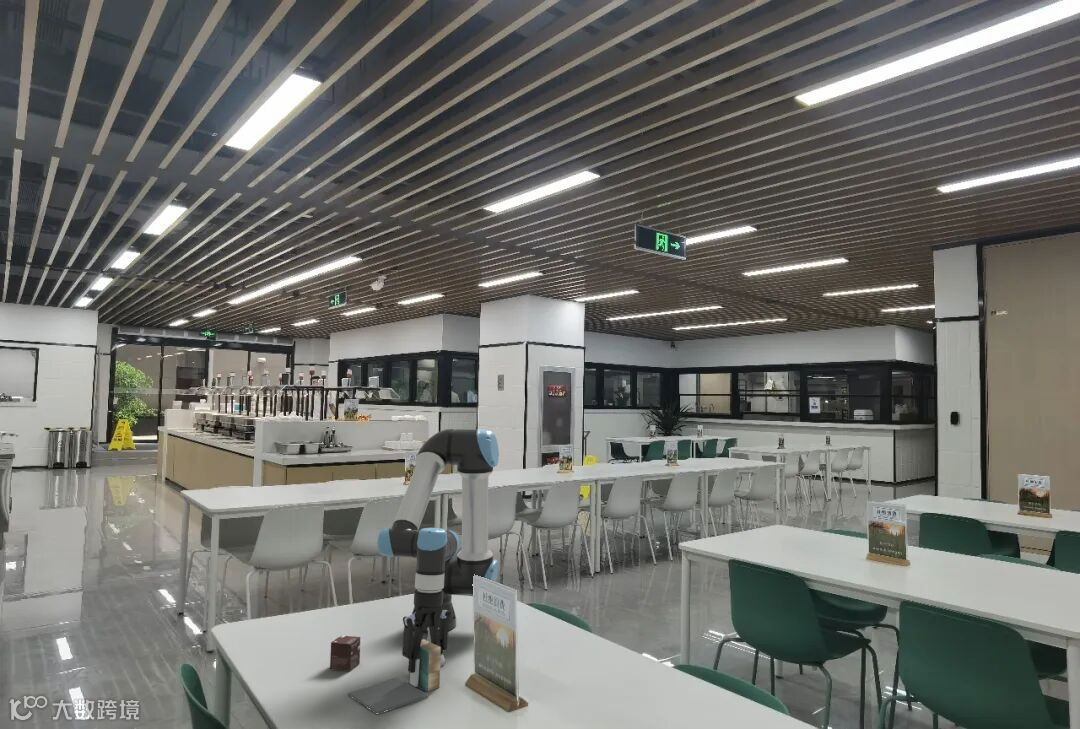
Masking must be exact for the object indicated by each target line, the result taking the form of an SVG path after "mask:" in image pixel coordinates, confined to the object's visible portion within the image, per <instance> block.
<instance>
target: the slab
mask: <svg viewBox="0 0 1080 729" xmlns="http://www.w3.org/2000/svg"><path fill="white" fill-rule="evenodd" d="M440 655H441V647H439V646H437V645H435V644H433V643H431V642H429V641H427V639H424V638H422V641H421V645H420V649H419V652H418V656H417V658H418V659H420V662H419V677H418V687H417V688H419V689H421V690H422V689H423V692H425V693H427V692H430V691H432V690H435V689H438V688H440V687H441V686H440V684H441V682H440V681H441V667H440ZM408 672H409V671H408ZM408 675H409V676H408V679H409V680H408V682H409V683H410V672H409V673H408Z"/></svg>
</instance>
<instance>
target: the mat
mask: <svg viewBox="0 0 1080 729" xmlns="http://www.w3.org/2000/svg"><path fill="white" fill-rule="evenodd" d="M347 695H348V696H349V695H350V696H351V697H350V696H349V697H350V698H352V697H353V698H354V699H353V698H352V699H353V700H355V699H356V700H357V701H356V700H355V701H356V702H358V701H359V702H360V703H359V702H358V703H359V704H361V703H362V704H363V705H362V704H361V705H362V706H364V705H365V706H366V707H365V706H364V707H365V708H367V707H368V708H370V709H371V710H372V711H371V710H370V709H369V710H370V711H371V712H373V711H374V712H375V713H374V712H373V713H374V714H376V713H380V714H382V713H381V712H383V713H385V712H384V711H386V710H389V711H391V710H390V709H392V710H394V709H393V708H395V709H397V708H396V707H398V708H400V707H399V706H401V707H403V705H404V706H406V705H409V704H412V703H416V702H418V701H421V700H425V699H427V698H428V696H429V695H428V694H427V693H426V692H425V691H421V690H420V689H418V687H417V688H416V687H415V686H413V685H411V684H410V683H407V681H405V680H403V679H400V678H398V677H395V678H392V679H388V680H385V681H382V682H377V683H375V684H371V685H368V686H365V687H361V688H358V689H355V690H351V691H348V692H347ZM368 708H367V709H368ZM386 712H387V711H386Z"/></svg>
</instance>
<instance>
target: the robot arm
mask: <svg viewBox="0 0 1080 729" xmlns="http://www.w3.org/2000/svg"><path fill="white" fill-rule="evenodd" d="M499 452H500V450H499V444H498V440H497V437H496V435H495V433H494V432H493V431H491V430H487V429H486V430H485V429H479V428H478V429H476V428H475V429H472V428H471V429H468V428H467V429H466V428H463V429H458V428H457V429H454V428H448V429H447V428H446V429H444V430H440V431H438V432H437V433H435V434H433V435H432V436H431V437H430V438H428V439H427V440H426V441H425V442H424V443H423V444H422V446H421V448H420V449H419V450H418V453H417V454H416V457H415V460H414V462H415V465H416V466H415V467H414V471H413V473H412V476H411V478H410V480H409V483H408V486H407V488H406V490H405V493H404V495H403V498H402V501H401V504H400V506H399V508H398V511H397V513H396V516H395V519H394V521H393V524H392V526H391V528H390V527H388V528H383V529H382V530H381V531H380V532H379V533H378V536H377V543H376V544H377V546H376V547H377V550H378V553H379V554H380V555H382V556H385V557H390V558H391V557H392V558H414V559H416V563H415V564H416V565H415V579H414V580H415V581H414V588H415V590H414V593H413V605H414V606H413V608H412V613H411V614H410V615H408V616H406V615H405V616H403V618H402V621H403V622H402V623H403V626H404V627H403V637H402V638H403V639H402V652H401V653H402V654H401V655H402V657H404V658H406V659H408V667H407V669H408V672H410V682H409V685H411V686H413V687H415V688H416V687H417V686H418V677H419V662H420V659H418V658H417V656H418V652H419V649H420V645H421V641H422V639H423V636H424V634H425V633H426V634H428V630H427V628H428V627H429V630H430V637H431V643H433V644H435V645H437V646H439V647H441V655H442V654H443V655H444V651H446V650H448V641H449V631H451V630H453V629H454V627H455V628H456V626H457V616H456V613H455V609H454V606H453V602H452V601H453V600H452V595H453V596H465V597H474V596H473V586H472V584H473V576H474V574H475V575H478V576H481V577H484V578H487V579H489V580H492V581H495V582H496V583H497V581H498V580H497V579H498V574H499V561H498V560H497V559H494V555H493V551H492V550H490V549H489V476H490V475H491V474H492V473H493V472H494V468H495V467H497V466H498V464H499V456H500V453H499ZM446 466H457V467H456V468H457V471H456V473H458V474H459V475H460V476H461V540H460V537H459V535H458V534H457V533H456V532H455V531H453V530H450V529H444V528H440V527H426V528H424V527H423V528H421V527H420V526H421V524H422V522H423V519H424V516H425V513H426V510H427V507H428V505H429V502H430V500H431V497H432V494H433V491H434V490H435V489H434V488H435V486H436V483H437V481H438V478H439V475H440V474H441V473H442V472H443V471H444V470H445V467H446ZM420 528H421V529H420ZM460 546H461V550H460V551H459V549H460ZM458 551H459V552H458ZM456 553H457V555H456V557H454V556H455V554H456ZM438 628H439V630H438Z"/></svg>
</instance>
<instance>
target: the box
mask: <svg viewBox="0 0 1080 729" xmlns="http://www.w3.org/2000/svg"><path fill="white" fill-rule="evenodd" d="M329 656H330V657H329V658H330V661H329V662H330V663H329V669H330V670H331V669H335V670H334V671H341V670H346V671H345V672H351V671H352V670H354V669H355V668H356V667H357V666H359V665H360V663H361V661H360V660H361V636H351V635H340V636H339V637H337V638H335V639H334V640H332V641H331V642H330V654H329ZM358 664H359V665H358ZM353 668H354V669H353Z"/></svg>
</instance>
